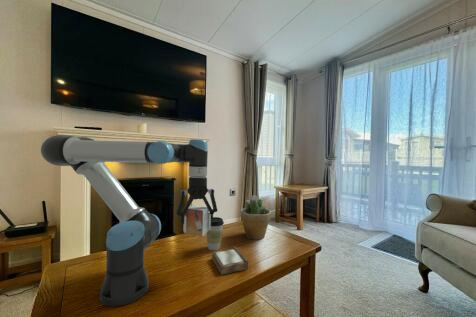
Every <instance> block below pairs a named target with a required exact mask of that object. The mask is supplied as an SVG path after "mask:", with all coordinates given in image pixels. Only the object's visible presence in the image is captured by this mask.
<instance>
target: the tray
mask: <svg viewBox="0 0 476 317" xmlns="http://www.w3.org/2000/svg"><path fill="white" fill-rule="evenodd" d="M211 257H212V258H211V259H212V261H213V262H214V265H215V266H216V268H217V270H218V271H219V273H220V274H221V275H226V274H230V273H235V272H242V271H246V270H249V260H248V258H247V257H246V256H245V255H244V254H243V253H242V252H241V251H240V250H239V248H237V246H234V247H233V249H232V248H231V249H225V250H219V251H218V250H217V251H214V252H212V256H211Z"/></svg>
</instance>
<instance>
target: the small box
mask: <svg viewBox="0 0 476 317" xmlns="http://www.w3.org/2000/svg"><path fill="white" fill-rule="evenodd" d="M209 213H210V212H209V209H208V207H207V206H197V205H192V206H191V205H190V206H189V208H188V210H187V212H186V214H185V215H186V233H185V234H187V235H193V236H199V237H204V236H205V234H206V235H207V232H208V219H209Z"/></svg>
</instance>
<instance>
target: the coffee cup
mask: <svg viewBox="0 0 476 317" xmlns="http://www.w3.org/2000/svg"><path fill="white" fill-rule="evenodd" d="M224 223H225V222H224V221H223V218H222V217H219V216H213V221H211V230H209V229H208V232H207V233H206V240H207V249H208V250H209V251H218V250H220V248H221V244H222V242H221V241H222V237H223V226H224V225H225V224H224Z"/></svg>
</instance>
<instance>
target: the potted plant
mask: <svg viewBox="0 0 476 317" xmlns="http://www.w3.org/2000/svg"><path fill="white" fill-rule="evenodd" d="M258 197H259V196H257V195H255V194H253V195H251V196H250V199H247V200H245V208H241V209H240V217H241V220H242V221H241V222H242V226H243V229H244V234H245V236H246V238H248V239H250V240H255V241H257V240H263V239H264V238H265V235H266V234H267V230H268V226H269V221H270V220H271V214H272V210H270V209H268V208H266V206H265V205H264V204H263V199H262V198H258Z"/></svg>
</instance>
